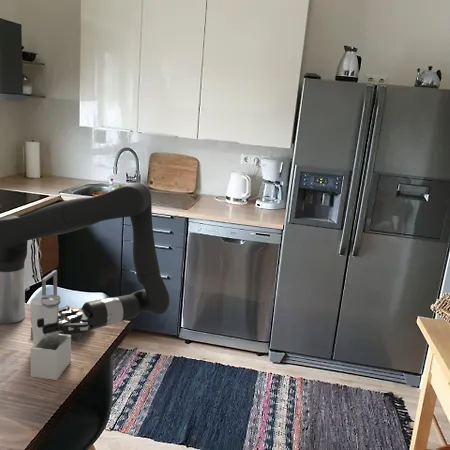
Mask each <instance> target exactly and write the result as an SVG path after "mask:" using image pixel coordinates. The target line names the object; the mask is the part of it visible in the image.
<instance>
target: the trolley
mask: <svg viewBox="0 0 450 450" xmlns="http://www.w3.org/2000/svg"><path fill="white" fill-rule="evenodd" d="M51 278H53V280H52V281H53V283H52V284H53V288H52V289H53V290H52V291H53V293H52V295H58V270H57V269H54V270H52V271H51V272H50V273H48V274H47V275H46V276H44V277H43V278H42V279H41V296H47V283H46V282H47V281H49V279H51ZM81 308H82V307H73V306H72V307H70V309H71V310H72V309H81ZM59 320H60V319H59ZM64 320H65V317H64ZM78 329H79V328H78ZM73 330H74V329H73ZM66 335H71V342H76V341H78V340H79V339H80V338H81V337H82V335H83V333H77V334H66Z"/></svg>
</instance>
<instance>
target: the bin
mask: <svg viewBox="0 0 450 450" xmlns="http://www.w3.org/2000/svg"><path fill="white" fill-rule="evenodd" d="M71 361H72V340H71V335H67V334H64V333H59V347H58V348H57V349H56V350H51V349H44V335H43V336H42V337H41V338H40V339H39V340H38V341H37V342H36V343H35V344H34V345H33V344H32V346H31V347H30V377H34V378H39V379H40V378H41V379H46V380H47V379H50V380H58V379H59V377H60V376H61V375H62V374H63V373H64V371H65V370H66V368H67V367H68V366H69V365H70V364H71V363H72V362H71Z"/></svg>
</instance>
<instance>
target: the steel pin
mask: <svg viewBox="0 0 450 450" xmlns="http://www.w3.org/2000/svg"><path fill="white" fill-rule="evenodd" d="M41 304H42V305H43V306H44V325H46V324H51V323H56V322H57V323H58V322H59V305H60V304H61V296H60V295H58V294H57V295H53V294H46V296H44V297H42V298H41ZM59 334H60V332H59V331H56V332H52V333H47V334H44V349H51V350H56V349H57V348H58V347H59Z"/></svg>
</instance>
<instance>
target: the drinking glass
mask: <svg viewBox="0 0 450 450" xmlns="http://www.w3.org/2000/svg"><path fill="white" fill-rule="evenodd" d="M42 297H44V296H42V295H40V296H35V297H32V299H30V303H29V304H30V306H29V307H30V309H29V310H30V312H29V313H30V323H31V327H32V334H33V336H32V342H33V343H32V346H33V345H34V344H35V343H36V342H37V341H38V340H39V339H40V338H41V337H42V336H43V335H44V333H43V332H42V327H41V328H39V327H38V326H37V320H38V319H41V318H44V306H43V305H42V304H41V298H42Z"/></svg>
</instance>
